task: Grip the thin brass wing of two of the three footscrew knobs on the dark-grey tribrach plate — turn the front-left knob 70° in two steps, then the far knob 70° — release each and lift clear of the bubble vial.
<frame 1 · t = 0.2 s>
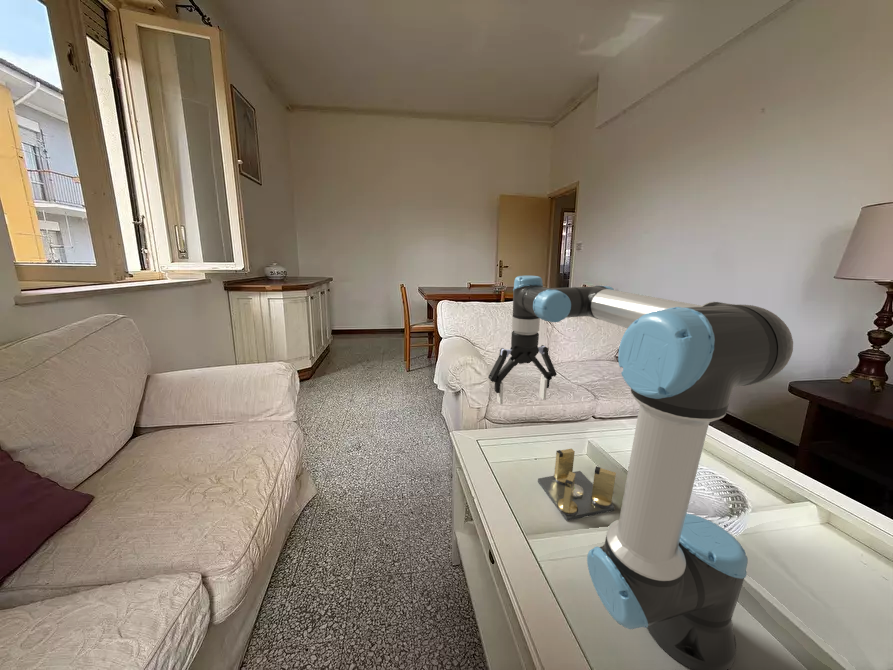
hand: (521, 400, 102), 27 cm above the table, fingers open, 13 cm apart
tribrach plate: (573, 495, 102), on the table
side knob: (603, 485, 96), point 6 cm above the table, hinge at 0.0°
front knob: (568, 492, 94), point 6 cm above the table, hinge at 0.0°
far knob: (564, 464, 105), point 6 cm above the table, hinge at 0.0°
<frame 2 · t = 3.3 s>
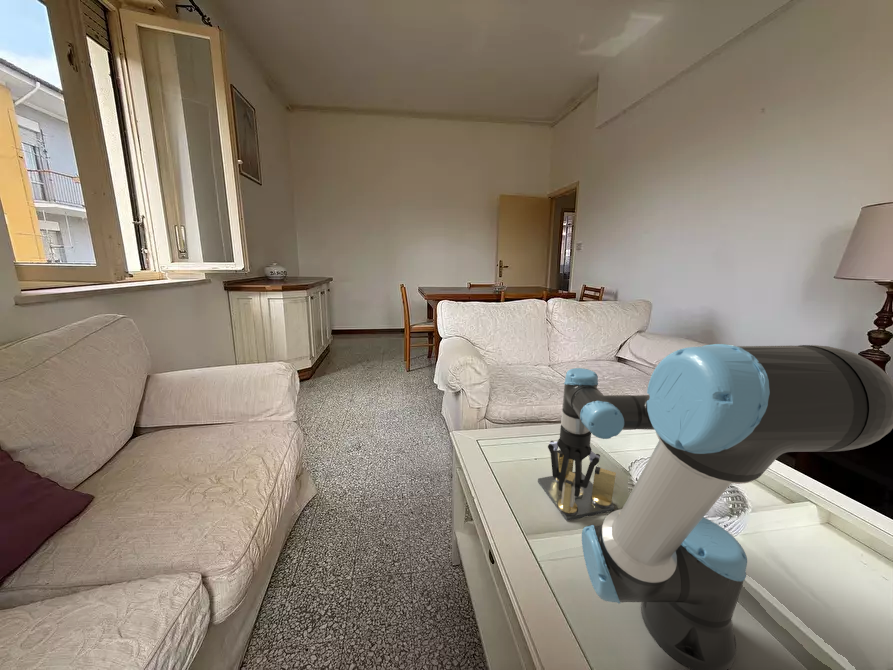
hand: (567, 502, 95), 3 cm above the table, fingers closed on front knob, 2 cm apart
front knob: (568, 492, 94), point 6 cm above the table, hinge at 0.0°, touching gripper
everything else where it was.
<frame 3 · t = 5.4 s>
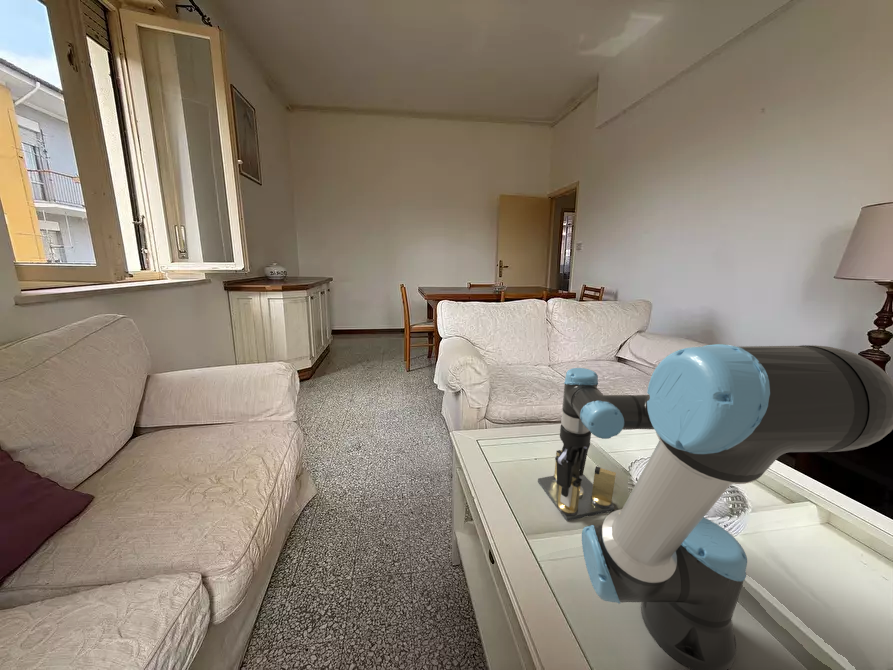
hand: (567, 501, 95), 3 cm above the table, fingers closed on front knob, 2 cm apart
front knob: (568, 492, 94), point 6 cm above the table, hinge at 70.4°, touching gripper
everything else where it was.
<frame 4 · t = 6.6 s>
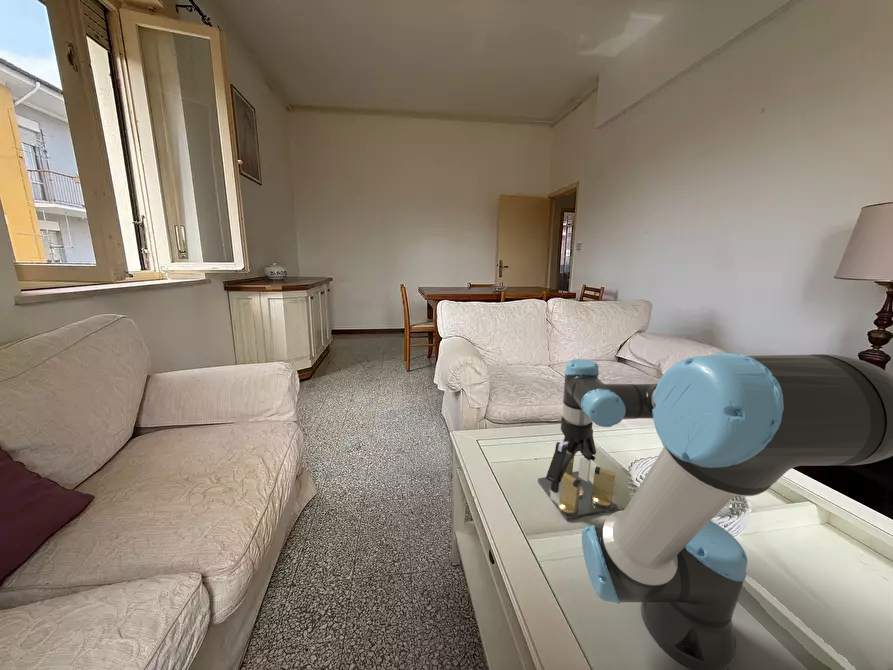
hand: (570, 489, 93), 8 cm above the table, fingers open, 13 cm apart
front knob: (568, 492, 94), point 6 cm above the table, hinge at 69.0°
everything else where it was.
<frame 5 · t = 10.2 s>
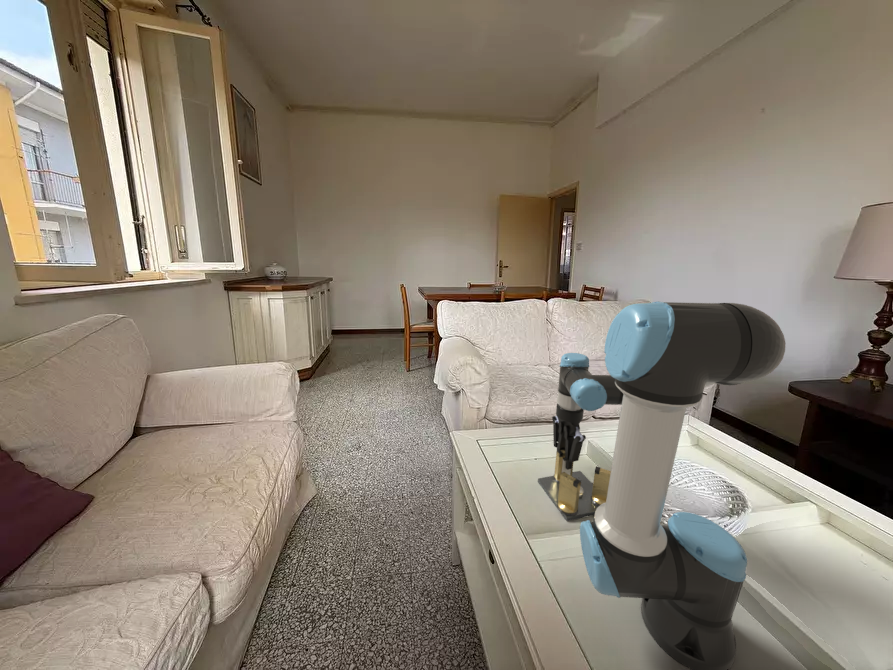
hand: (563, 473, 106), 3 cm above the table, fingers closed on far knob, 2 cm apart
far knob: (564, 464, 105), point 6 cm above the table, hinge at 0.5°, touching gripper
everything else where it was.
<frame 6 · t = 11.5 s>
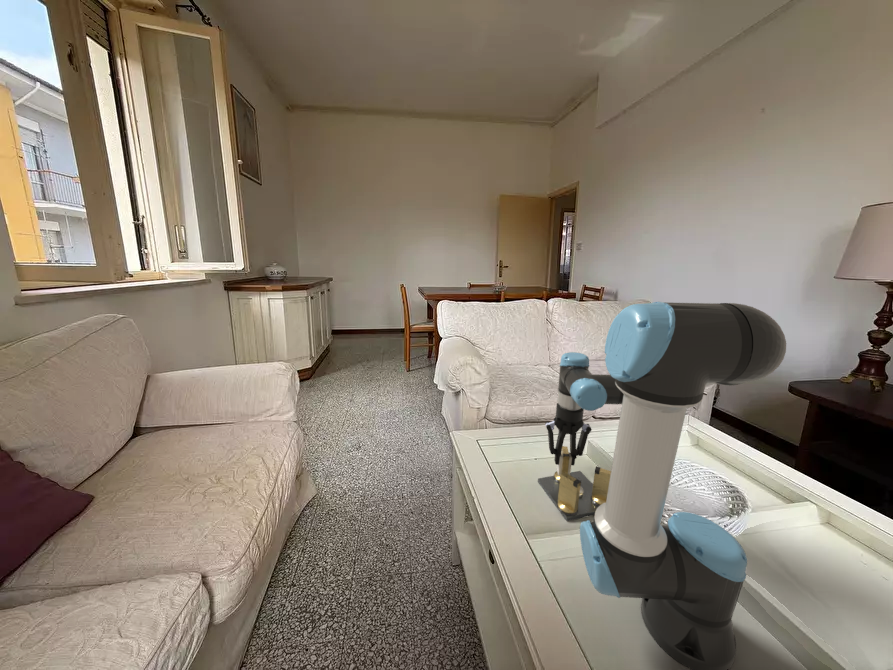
hand: (563, 472, 106), 3 cm above the table, fingers closed on far knob, 2 cm apart
far knob: (564, 464, 105), point 6 cm above the table, hinge at 64.0°, touching gripper
everything else where it was.
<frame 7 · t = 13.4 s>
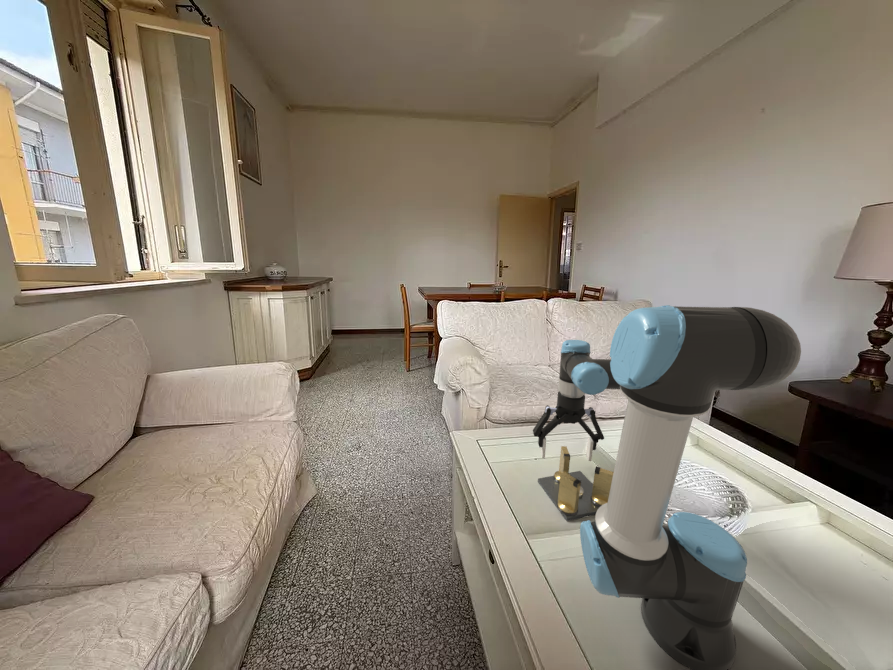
hand: (565, 457, 104), 9 cm above the table, fingers open, 13 cm apart
far knob: (564, 464, 105), point 6 cm above the table, hinge at 69.1°
everything else where it was.
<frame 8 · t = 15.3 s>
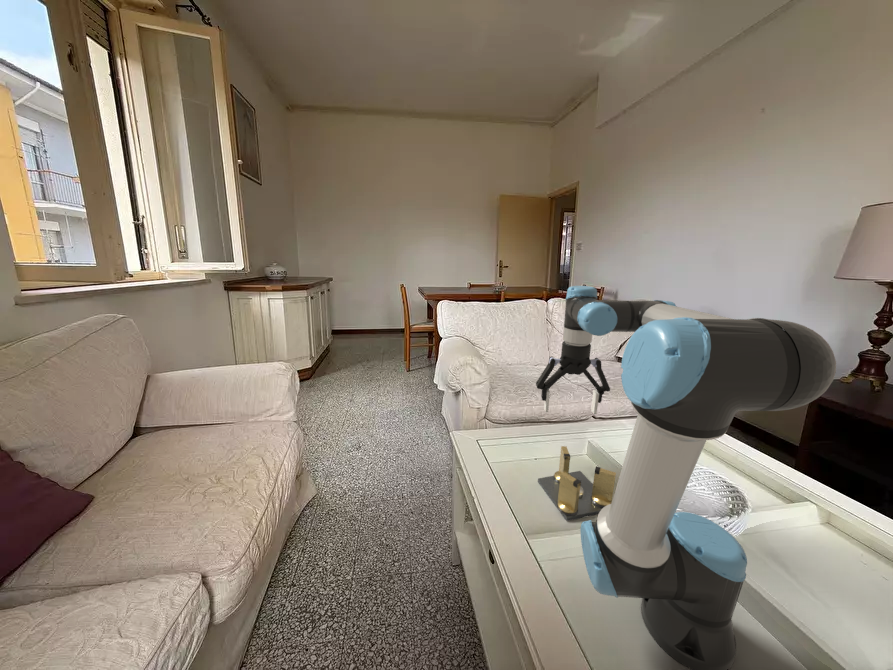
hand: (569, 411, 100), 25 cm above the table, fingers open, 13 cm apart
nothing on the table moved.
at the end: front knob at +69° (first picture: +0°); far knob at +69° (first picture: +0°); the gripper is holding nothing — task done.
